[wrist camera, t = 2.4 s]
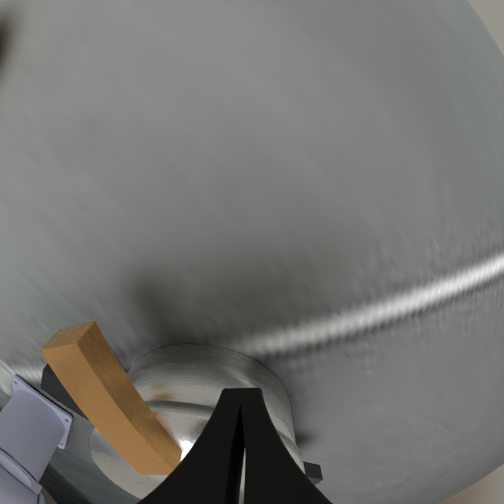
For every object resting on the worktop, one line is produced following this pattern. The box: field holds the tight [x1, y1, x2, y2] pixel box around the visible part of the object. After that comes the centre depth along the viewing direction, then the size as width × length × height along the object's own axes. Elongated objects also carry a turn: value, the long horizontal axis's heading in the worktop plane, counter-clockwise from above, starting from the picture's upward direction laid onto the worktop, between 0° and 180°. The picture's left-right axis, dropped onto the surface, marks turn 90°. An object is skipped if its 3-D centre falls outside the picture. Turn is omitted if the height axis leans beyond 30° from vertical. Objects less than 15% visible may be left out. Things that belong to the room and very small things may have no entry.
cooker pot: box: [41, 344, 323, 485], centre depth 19 cm, size 22×14×6 cm, turn 57°
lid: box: [40, 321, 305, 504], centre depth 14 cm, size 20×15×3 cm
